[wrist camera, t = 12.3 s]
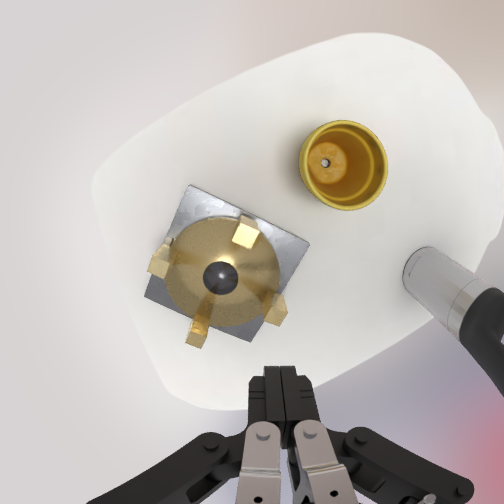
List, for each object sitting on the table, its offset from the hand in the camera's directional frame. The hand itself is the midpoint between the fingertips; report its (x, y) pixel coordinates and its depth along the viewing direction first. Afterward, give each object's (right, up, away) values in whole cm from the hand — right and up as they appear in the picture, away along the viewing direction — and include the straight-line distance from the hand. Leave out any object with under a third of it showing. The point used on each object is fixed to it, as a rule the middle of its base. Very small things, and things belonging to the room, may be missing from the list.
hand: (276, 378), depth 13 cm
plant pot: (+9, +19, +25) cm, 33 cm away
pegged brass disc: (-6, +3, +28) cm, 29 cm away
